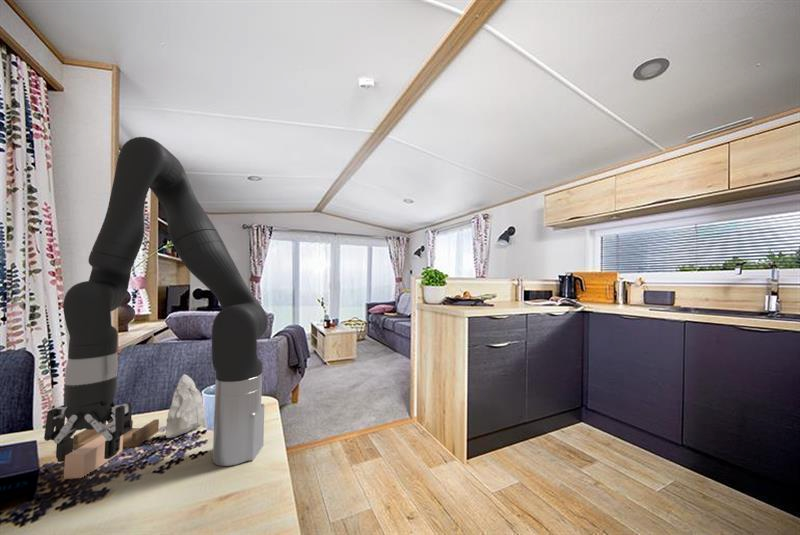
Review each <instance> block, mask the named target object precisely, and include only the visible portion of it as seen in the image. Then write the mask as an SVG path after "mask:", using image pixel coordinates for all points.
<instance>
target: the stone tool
mask: <svg viewBox="0 0 800 535" xmlns="http://www.w3.org/2000/svg"><path fill="white" fill-rule="evenodd" d="M201 393H202V392H200V390H199V389H197V387H196V383H195V382H194V380H193V379H192V377H190V376H189V375H187V374H185V373H184V374H182V376H181V377H180V378H179V380H178V383H177V386H176V387H175V389H174V392H173V395H172V399H171V405H170V408H169V410H168V413H167V418H166V426H165V438H167V439H171V438H176V437H177V436H181V435H183V434H188V433H189V432H190V431H192V430H196V429H198V428H200V427H201V426H202V425H203V423H204V421H205V419H204V417H205V406H204V407H203V404H204V397H203V396H202V394H201ZM202 397H203V398H202Z"/></svg>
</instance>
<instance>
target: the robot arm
mask: <svg viewBox="0 0 800 535" xmlns="http://www.w3.org/2000/svg"><path fill="white" fill-rule="evenodd" d="M149 190H151V191H152V192H153V194H154V195H155V197H156V198H157V200H158V201H159V203H160V205H161V207H163V210H164V212H165V215H166V220H167V221H166V222H167V224H166V225H167V233H168V236H169V240H170V241H171V243H172V246H173V247H174V249H175V252H176V253H177V254H178V257H179V259H180V260H181V261H182V263H183V264H184V266H185V267H186V269H187V270H188V271H189V272H190V273H191V274H192V275H193V276H194V277H196V279H198V280H199V281H200V283H202V284H203V285H204V286H205V287H206V288H207V289H208V290H209V291H210V292H211V293H212V294H213V296H215V298H216V300H217V301H218V302H219V305H220V306H221V309H222V310H220V311H219V312H217V314H216V316H215V318H214V320H213V322H212V323H213V325H212V328H211V361H212V362H211V363H212V366H213V368H214V371H215V388H214V390H215V391H214V392H215V393H214V414H213V440H212V441H213V442H212V443H213V444H212V462H213V463H214V465H216V466H221V467H222V466H223V467H229V466H234V465H235V466H236V465H240V464H242V463H244V462H247V461H254V459H255V458H256V456H257V455H258V454H259V452H260V450H261V449H262V448H263V447H264V435H265V433H264V431H265V403H262V393H263V392H262V391H263V390H262V389H263V387H262V384H263V361H262V359H261V358H259V357H258V351H257V350H258V348H257V347H258V344H257V343H258V339H260V338H261V337H263V335H265V333H266V331H267V329H268V326H269V320H268V316H267V315H268V314H267V313H266V310H265V309H264V308H263V306H262V305H261V303H260V302H259V301H258V299H257V298H256V297H255V295H254V294H253V293H252V292H251V290H250V288H249V287H248V286H247V284H246V282H245V281H244V279H243V277H242V275H241V273H240V271H239V268H238V267H237V266H236V263H235V262H234V260H233V258H232V257H231V254H230V252H229V250H228V249H227V247H226V245H225V243H224V241H223V239H222V237H221V236H220V234H219V232H218V230H217V229H216V227H215V226H214V224H213V222H212V221H211V219H210V218H209V216H208V214H207V213H206V211H205V210H204V208H203V206H202V205H201V204H200V202H199V200H198V199H197V197H196V194H195V193H194V190H193V189H192V185H191V183H190V181H189V179H188V175H187V173H186V171H185V169H184V166H183V165H182V163H181V162H180V160H179V159H178V158H177V157H175V155H174V154H173V153H171V152H170V151H169V150H168V149H167V148H166V147H165V146H164V145H162V144H161V143H160V142H159V141H157V140H155V139H154V138H151V137H146V136H138V137H133V138H130V139H129V140H126V142H125V143H124V144H123V145H122V146H121V149H120V151H119V154H118V158H117V161H116V166H115V170H114V177H113V182H112V187H111V191H110V192H111V193H110V195H109V202H108V206H107V210H106V213H105V217H104V219H103V223H102V225H101V228H100V230H99V233H98V235H97V237H96V239H95V240H94V241H95V242H94V244H93V246H92V248H91V251H90V252H89V256H88V264H89V265H90V266H91V271H90V276H89V278H88V280H87V281H81V282H78V283H76V284H74V285H73V286H71V287H70V288H69V289H68V290H67V292H66V293H65V296H64V298H63V303H62V307H63V315H64V316H63V317H64V321H65V325H66V329H67V332H68V335H69V340H68V351H67V352H68V354H67V362H66V366H65V371H64V386H63V387H64V389H63V404H62V405H60V406H57V407H54V408H52V409H50V410H48V411H47V413H46V421H45V429H44V437H43V439H44V441H47V442H48V441H53V442H54V443H55V444H56V449H55V450H56V451H55V457H56V460H57V461H56V462H58V463H63V462H65V456H66V455H67V454H69V453H71V452H73V451H74V449H73V437H74V435H75V433H76V432H77V431H83V430H86V429H88V430H92V429H95V430H96V431H97V433H101V434H102V435H103V436H104V437H105V439H106V441H105V453H104V459H110V458H111V457H113V456H114V455H116V454H117V452H118V451H119V449H120V436H122V435H124V434H125V433H127V432H128V431H130V430H131V429H132V428H133V427H132V420H133V419H132V403H131V402H129V401H127V402H126V403H123V404H117V405H116V403H115V401H114V400H115V397H116V396H117V391H118V390H117V388H118V369H119V361H118V353H117V352H118V338H119V337H118V330H117V329H116V327H114V326H112V325H113V324H112V312H113V311H115V310H116V309H119V307H120V306H121V305H122V303H123V302H124V300H125V298H126V296H127V293H128V291H129V286H130V279H131V275H132V274H131V273H132V268H133V266H134V264H135V262H136V260H137V256H138V254H139V252H140V249H141V247H142V244H143V242H144V237H145V236H144V234H145V206H146V199H147V195H148V192H149ZM66 419H67V420H68V421H67V422H66ZM105 422H106V425H103V424H104V423H105ZM110 429H111V430H112V432H111V431H110ZM72 436H73V437H72ZM116 456H117V455H116ZM113 458H114V457H113ZM110 460H111V459H110Z"/></svg>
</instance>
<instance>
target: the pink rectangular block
mask: <svg viewBox="0 0 800 535" xmlns="http://www.w3.org/2000/svg"><path fill="white" fill-rule="evenodd" d="M105 441H106V439H105V437H104V436H103V435H101V436H100V437H98V438H96V439H94V440H92V441H91V442H89V443H87V444H85V445H84V446H82V447H80V448H78V449H74V450H73V452H71V453H69V454H67V455H66V456H65V461H64V468H63V469H64V470H63V471H64V472H63V479H64V480H66V479H83V478H85V477H86V476H87V474H88V475H90V474H91V473H92V472H94V471H95V470H96V469H98V468H100V467H101V466H103V465H104V464H106V463H107V462H109V461H110V460H112V459H113V458H114V457H115V458H116V456H118V455H120V454H121V453H122V452H123V450H124V449H123V448H124V447H123V435H122V436H120V449H119V451H118V452H117V454H116V455H114V456H113V457H111V458H110V459H104V453H105ZM90 472H91V473H90ZM84 476H85V477H84ZM82 477H83V478H82Z"/></svg>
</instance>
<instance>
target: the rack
mask: <svg viewBox="0 0 800 535" xmlns="http://www.w3.org/2000/svg"><path fill="white" fill-rule="evenodd" d="M133 423H134V421H133V419H132V429H131V430H130V431H128V432H127V433H125V434H124V435H123V448H131V447H138V446H140V444H142V443H144V442H145V441H146V440H148V439H149V438H151V437H153V436H154V435H155V434H157V433H158V432H159V425H160V419H153V420H152V421H150V422H149V423H146V424H145V425H144V426H142V427H135V428H134V427H133V426H134V425H133ZM103 425H107V421H106V422H105V423H104V424H103ZM110 431H111V432H112V430H111V429H110ZM101 435H102V434H101V433H97V431H96V430H95V429H92V430H88V429H83V430H81V431H80V432H78V433H76V434H73V437H72V438H73V450H76V449H78V448H80V447H82V446H84V445H85V444H87V443H89V442H91V441H92V440H94V439H96V438H98V437H100V436H101Z"/></svg>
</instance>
